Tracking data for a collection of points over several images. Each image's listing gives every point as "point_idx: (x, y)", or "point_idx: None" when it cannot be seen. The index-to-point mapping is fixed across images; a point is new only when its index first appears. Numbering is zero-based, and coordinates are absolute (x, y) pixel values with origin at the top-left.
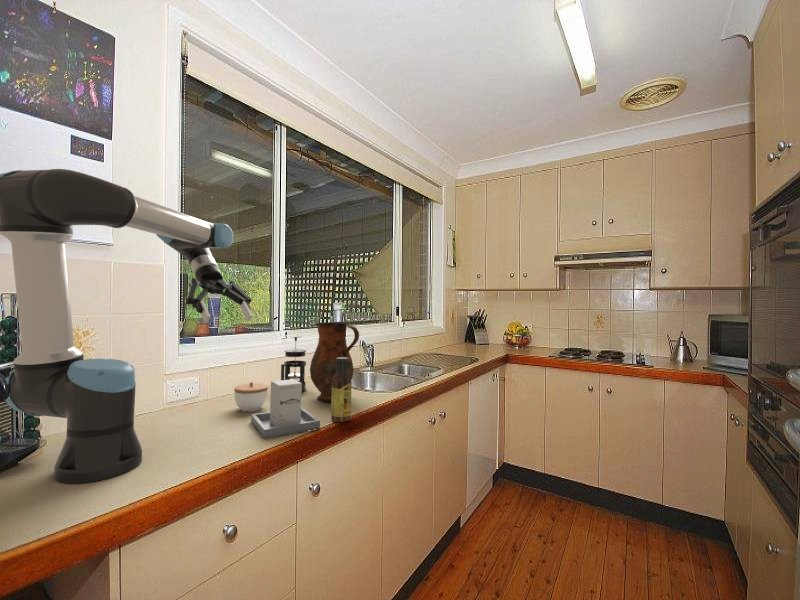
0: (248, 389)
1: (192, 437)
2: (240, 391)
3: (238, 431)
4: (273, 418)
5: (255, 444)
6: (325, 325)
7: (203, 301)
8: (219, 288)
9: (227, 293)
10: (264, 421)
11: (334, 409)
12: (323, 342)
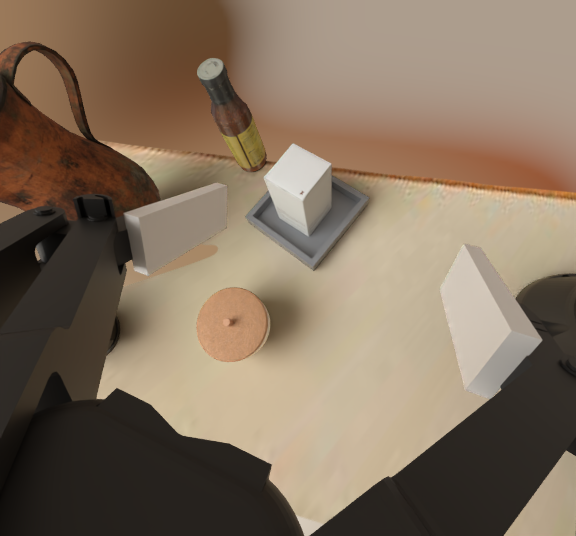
0: (257, 308)
1: (412, 305)
2: (267, 322)
3: (357, 259)
4: (322, 215)
5: (389, 201)
6: (7, 113)
7: (511, 322)
8: (132, 428)
9: (85, 362)
10: (308, 247)
11: (261, 149)
12: (66, 160)
